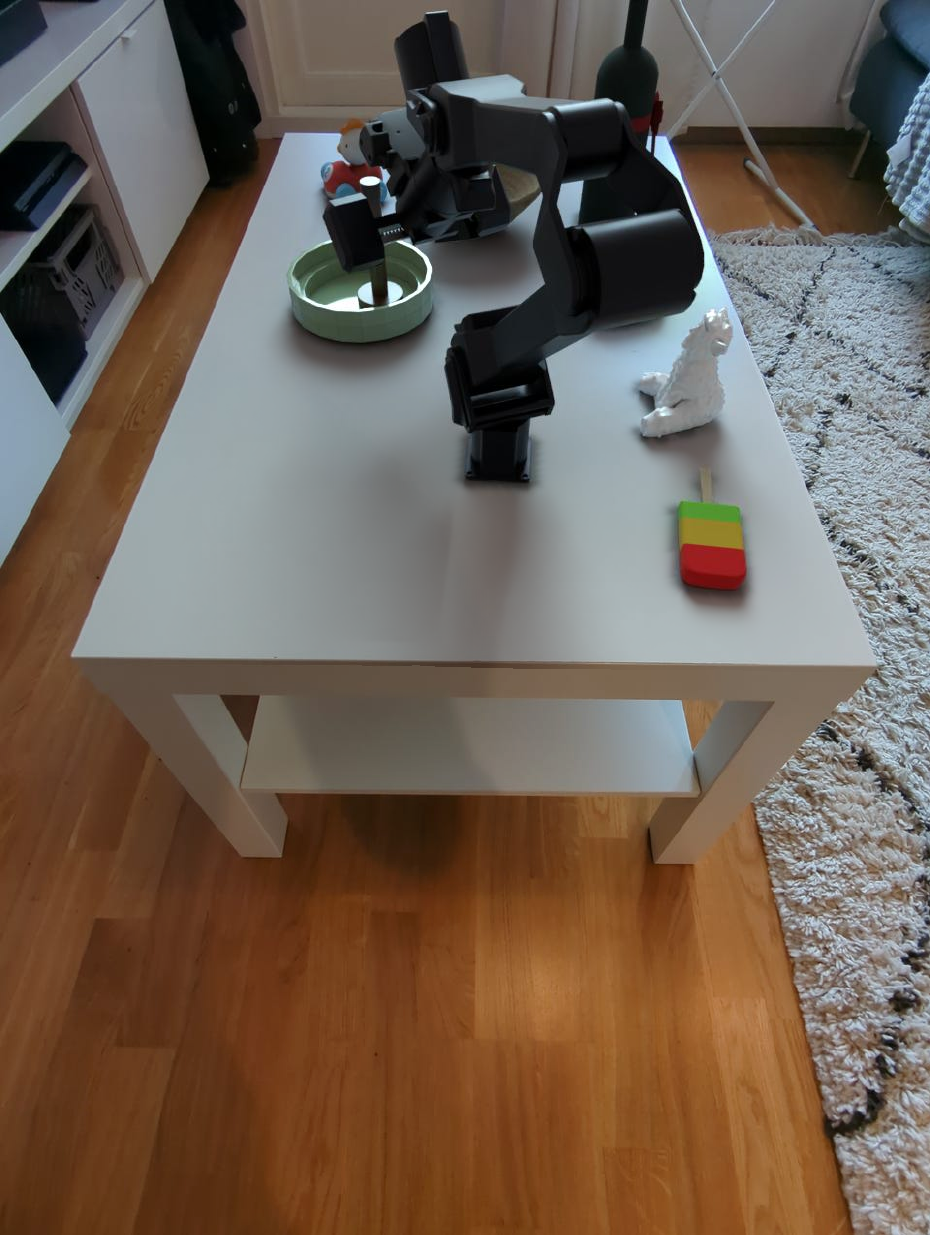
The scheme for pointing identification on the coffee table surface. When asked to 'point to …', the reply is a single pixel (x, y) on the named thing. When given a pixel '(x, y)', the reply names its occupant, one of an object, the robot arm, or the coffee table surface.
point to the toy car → (349, 165)
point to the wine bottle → (633, 85)
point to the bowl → (519, 189)
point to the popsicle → (711, 541)
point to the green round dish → (333, 302)
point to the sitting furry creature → (689, 380)
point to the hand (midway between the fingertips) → (398, 248)
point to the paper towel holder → (379, 287)
